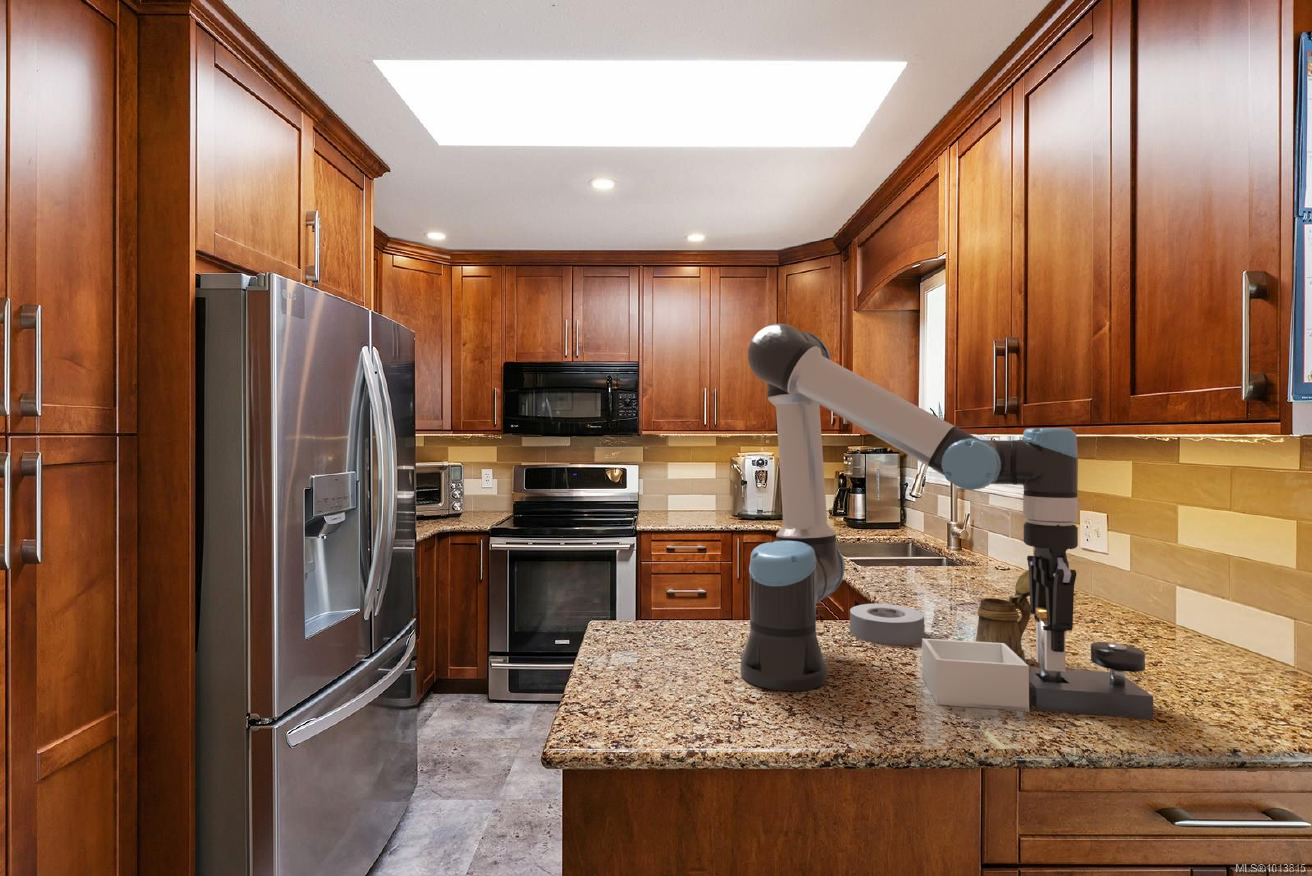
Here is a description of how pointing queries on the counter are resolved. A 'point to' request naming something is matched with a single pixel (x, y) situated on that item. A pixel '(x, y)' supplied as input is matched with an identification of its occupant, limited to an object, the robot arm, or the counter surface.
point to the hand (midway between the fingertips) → (1050, 666)
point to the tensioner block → (1096, 686)
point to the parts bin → (975, 674)
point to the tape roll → (887, 624)
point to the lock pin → (1044, 674)
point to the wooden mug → (1005, 618)
